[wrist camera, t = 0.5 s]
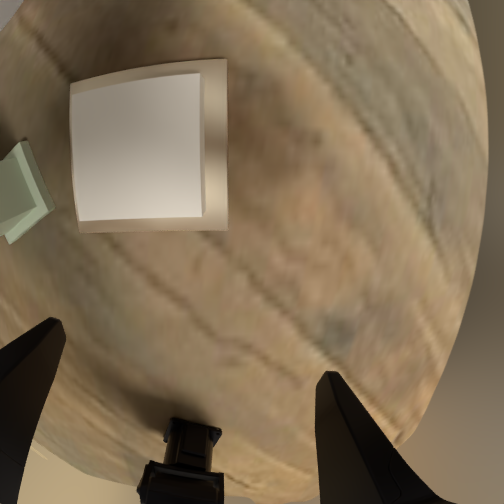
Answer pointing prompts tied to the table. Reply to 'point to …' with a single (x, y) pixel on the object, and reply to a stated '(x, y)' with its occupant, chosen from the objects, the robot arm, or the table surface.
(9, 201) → the sage pillar
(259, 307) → the table surface
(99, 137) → the whitewashed top slab
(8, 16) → the white paw print block
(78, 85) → the ash base slab
